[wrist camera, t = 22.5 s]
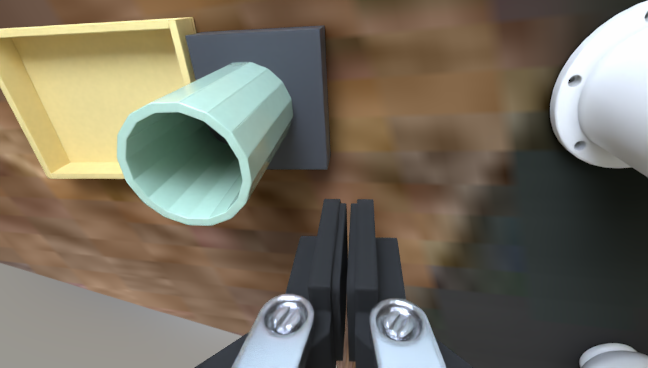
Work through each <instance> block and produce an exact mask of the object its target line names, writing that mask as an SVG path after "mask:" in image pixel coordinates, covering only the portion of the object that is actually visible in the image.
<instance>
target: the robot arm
mask: <svg viewBox="0 0 648 368" xmlns="http://www.w3.org/2000/svg"><path fill="white" fill-rule="evenodd" d="M645 14H646V15H645ZM571 77H572V78H571ZM570 78H571V80H570V81H569V79H570ZM568 81H569V82H568ZM550 120H551V124H552V129H553V132H554V133H555V135H556V137H557V139H558V141H559V142H560V143H561V144H562V145H563V146H564V147H565V149H566V150H567V151H569V152H570V153H572V154H573V155H574V156H576V157H577V158H578V159H581V160H583V161H585V162H587V163H589V164H592V165H596V166H600V167H606V168H629V167H632V168H634V169H635V170H637V171H639V172H640V173H642V174H643V175H645V176H646V177H648V1H645V2H642V3H639V4H637V5H635V6H633V7H631V8H629V9H627V10H625V11H623V12H621V13H619V14H617V15H616V16H614V17H613V18H611V19H610V20H608V21H607V22H605V23H604V24H602V25H601V26H600V27H598V28H597V29H596V30H595V31H594V32H593V33H592V34H591V35H589V36H588V37H587V38H586V39H585V40H584V41H583V42H582V43H581V44H580V45H579V47H578V48H577V49H576V50H575V51H574V53H573V54H572V55H571V56H570V57H569V59H568V61H567V62H566V64H565V65H564V67H563V69H562V70H561V72H560V74H559V76H558V79H557V81H556V83H555V86H554V88H553V92H552V97H551V102H550ZM346 296H347V321H348V355H349V361H350V362H355V367H356V368H473V367H472V366H471V365H469V364H468V363H467V362H465V361H464V360H463V359H462V358H460V357H459V356H458V355H456V354H455V353H454V352H453V351H451V350H450V349H449V348H447V347H446V346H445V345H444V344H442V343H441V342H440V341H438V340H437V339H436V338H435V337H434V334H433V332H432V329H431V326H430V324H429V321H428V319H427V317H426V315H425V313H424V312H423V311H422V310H421V309H420V308H419V307H418V306H417V305H416V304H414V303H412V302H410V301H408V300H406V297H405V290H404V283H403V276H402V269H401V262H400V255H399V248H398V242H397V238H375V223H374V204H373V200H366V199H357V204H351V215H350V233H349V251H348V248H347V209H346V204H345V203H340V199H324V203H323V208H322V214H321V219H320V224H319V229H318V235H317V236H301V237H300V240H299V244H298V248H297V251H296V255H295V259H294V263H293V267H292V271H291V275H290V278H289V282H288V286H287V290H286V294H284V295H279V296H277V297H275V298H273V299H271V300H270V301H268V302H267V303H266V304H265V305H264V306H263V308H262V309H261V311H260V312H259V314H258V316H257V318H256V320H255V322H254V324H253V326H252V328H251V330H250V332H248V333H247V334H245V335H244V336H242V337H241V338H239V339H238V340H236V341H235V342H233V343H232V344H230V345H229V346H227V347H225V348H224V349H222V350H221V351H219V352H218V353H216V354H215V355H213V356H212V357H210V358H209V359H207V360H206V361H204V362H203V363H201V364H199V365H198V366H196V367H195V368H336V361H343V352H344V334H345V315H346Z"/></svg>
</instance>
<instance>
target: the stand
mask: <svg viewBox="0 0 648 368" xmlns="http://www.w3.org/2000/svg"><path fill="white" fill-rule="evenodd" d="M185 37H186V41H187V46H188V50H189V54H190V58H191V63H192V67H193V71H194V75H195V79H196V80H198V79H200V78H202V77H204V76H206V75H208V74H210V73H212V72H215V71H217V70H219V69H221V68H223V67H225V66H227V65H229V64H231V63H237V62H252V63H255V64H257V65H260V66H263V67H265V68H268V69H269V70H270V71H271V72H273V73H274V74H275V75H276V76H277V77H278V78H279V79H280V80H281V81H282V82H283V83H284V85H285V87H286V89H287V91H288V93H289V95H290V97H291V99H292V109H293V118H292V122H291V125H290V128H289V131H288V133H287V134H286V136H285V138H284V140H283V141H282V143H281V145H280V146H279V148H278V150H277V152H276V153H275V155H274V157H273V158H272V160H271V162H270V164H269V165H268V167H267V169H328V165H329V160H330V156H331V150H330V130H329V109H328V89H327V69H326V48H325V28H324V26H307V27H288V28H270V29H251V30H232V31H213V32H201V33H196V34H191V35H186V36H185Z"/></svg>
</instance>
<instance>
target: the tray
mask: <svg viewBox="0 0 648 368" xmlns="http://www.w3.org/2000/svg"><path fill="white" fill-rule="evenodd" d="M191 34H196V29H195V24H194V20H193V17H187V18H171V19H154V20H137V21H120V22H103V23H86V24H70V25H53V26H36V27H19V28H3V29H0V88H1V89H2V91H3V93H4V95H5V97H6V99H7V101H8V103H9V105H10V107H11V109H12V110H13V112H14V114H15V116H16V118H17V120H18V122H19V124H20V126H21V128H22V130H23V131H24V133H25V135H26V137H27V139H28V141H29V143H30V145H31V147H32V149H33V151H34V152H35V154H36V156H37V158H38V160H39V162H40V164H41V166H42V168H43V170H44V172H45V174H46V175H47V177H48V178H49V179H53V178H54V179H125V178H124V175H123V173H122V170H121V168H120V165H119V163H118V160H117V135H118V132H119V131H120V129H121V127H122V125H123V124H124V122H125V120H126V118H127V117H128V115H129V114H130V113H132V112H134V111H136V110H138V109H139V108H141V107H143V106H145V105H147V104H149V103H151V102H153V101H155V100H157V99H159V98H161V97H163V96H165V95H167V94H169V93H171V92H173V91H175V90H177V89H179V88H182V87H184V86H186V85H188V84H190V83H192V82H194V81H196V79H195V75H194V71H193V67H192V63H191V58H190V54H189V50H188V46H187V41H186V37H185V36H186V35H191Z"/></svg>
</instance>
